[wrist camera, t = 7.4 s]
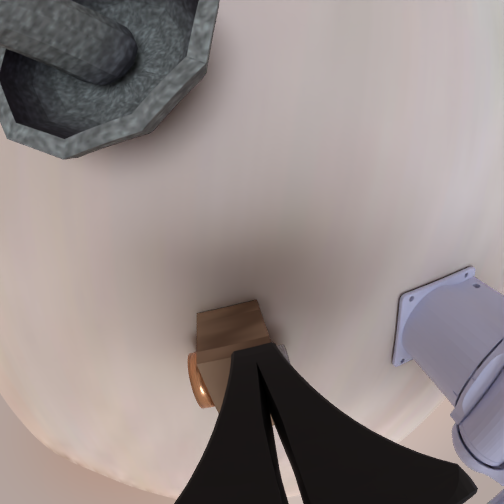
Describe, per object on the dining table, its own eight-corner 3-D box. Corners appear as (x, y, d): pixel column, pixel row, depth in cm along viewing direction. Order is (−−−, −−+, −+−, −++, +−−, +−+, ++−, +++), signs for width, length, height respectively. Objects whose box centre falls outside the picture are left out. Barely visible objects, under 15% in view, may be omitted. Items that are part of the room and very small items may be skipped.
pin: (276, 321, 19) (292, 358, 15) (283, 362, 20) (297, 398, 17) (188, 341, 18) (187, 381, 15) (204, 380, 20) (206, 419, 16)
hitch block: (256, 299, 19) (273, 346, 14) (272, 373, 21) (288, 421, 17) (196, 313, 18) (196, 364, 14) (222, 384, 21) (229, 434, 16)
